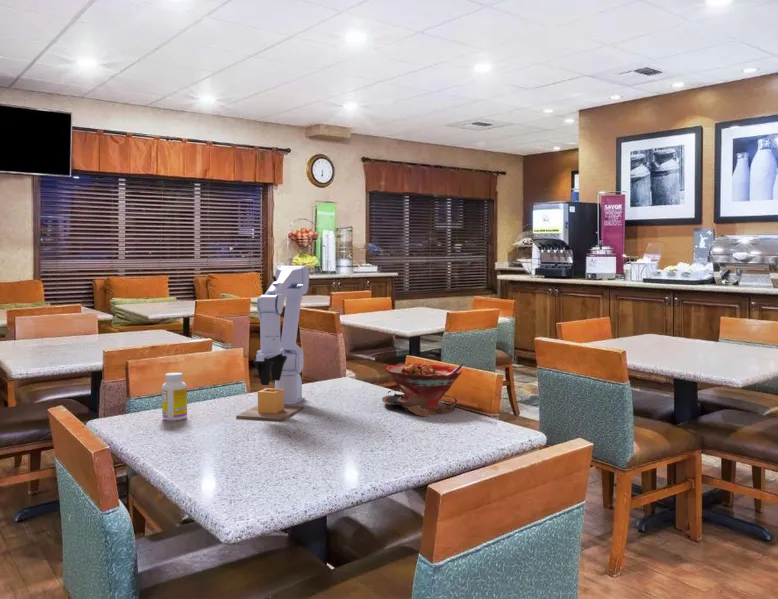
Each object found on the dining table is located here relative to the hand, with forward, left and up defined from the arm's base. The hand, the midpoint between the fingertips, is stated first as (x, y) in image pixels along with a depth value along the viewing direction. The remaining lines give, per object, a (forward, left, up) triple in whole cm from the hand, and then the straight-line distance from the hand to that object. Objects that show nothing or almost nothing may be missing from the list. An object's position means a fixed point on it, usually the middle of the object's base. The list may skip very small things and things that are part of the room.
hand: (270, 382), depth 191 cm
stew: (-19, +42, -10) cm, 47 cm away
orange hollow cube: (0, 0, -8) cm, 8 cm away
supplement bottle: (+12, -24, -10) cm, 28 cm away
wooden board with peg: (0, 0, -9) cm, 9 cm away
